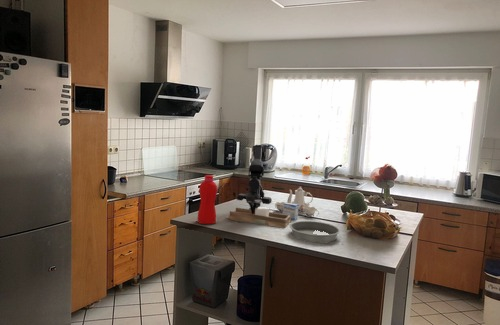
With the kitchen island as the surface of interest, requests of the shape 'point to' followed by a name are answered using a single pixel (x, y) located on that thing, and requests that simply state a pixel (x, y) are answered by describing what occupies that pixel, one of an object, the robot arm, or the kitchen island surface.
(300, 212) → the chinaware
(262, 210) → the cream block
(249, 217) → the light wood shallow tray
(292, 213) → the medicine box
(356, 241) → the kitchen island surface
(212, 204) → the water bottle
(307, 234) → the cake pan
